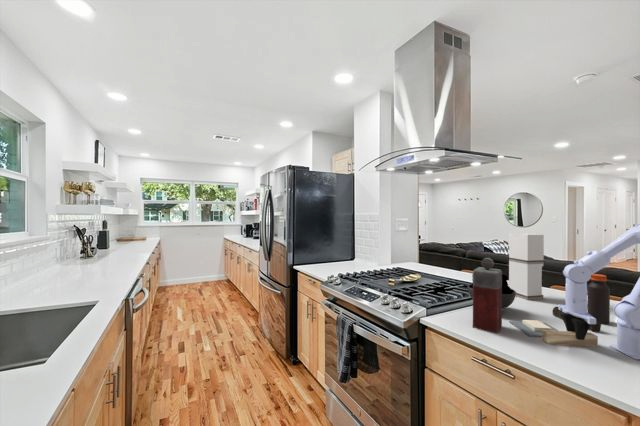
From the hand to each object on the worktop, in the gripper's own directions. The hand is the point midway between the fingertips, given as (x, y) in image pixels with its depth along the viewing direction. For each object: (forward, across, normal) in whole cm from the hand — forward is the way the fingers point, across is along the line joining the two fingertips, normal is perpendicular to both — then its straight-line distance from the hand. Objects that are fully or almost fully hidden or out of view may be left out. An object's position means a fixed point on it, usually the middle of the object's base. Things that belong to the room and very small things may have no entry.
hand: (575, 336), depth 101 cm
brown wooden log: (+3, -21, +14) cm, 25 cm away
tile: (+1, -8, -6) cm, 10 cm away
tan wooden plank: (+3, 0, -2) cm, 3 cm away
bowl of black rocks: (+3, -34, -13) cm, 37 cm away
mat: (+2, -11, -6) cm, 13 cm away
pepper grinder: (+3, -12, -24) cm, 27 cm away
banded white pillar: (+3, -60, +17) cm, 63 cm away
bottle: (+3, -24, +26) cm, 36 cm away
